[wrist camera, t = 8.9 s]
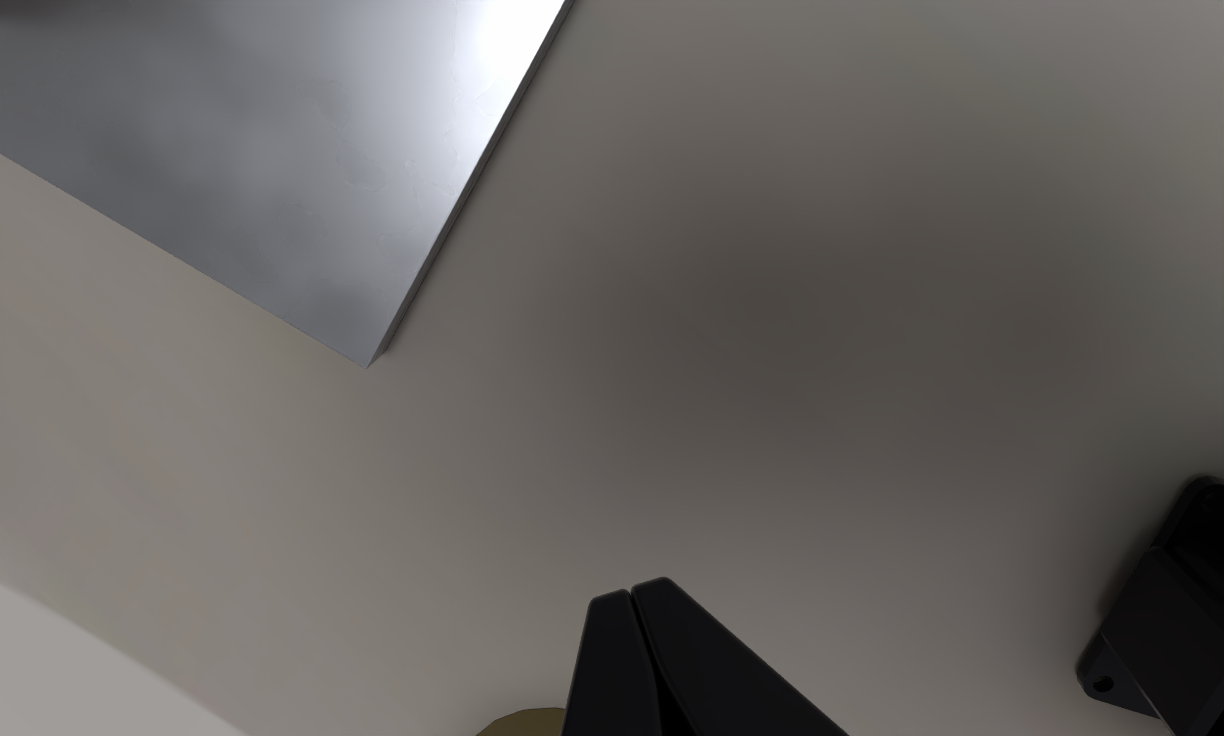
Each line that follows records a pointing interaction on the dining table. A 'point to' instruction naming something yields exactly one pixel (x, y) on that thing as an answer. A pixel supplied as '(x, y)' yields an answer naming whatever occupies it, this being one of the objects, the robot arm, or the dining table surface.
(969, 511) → the dining table surface
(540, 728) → the cork
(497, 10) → the grey piece
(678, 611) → the robot arm
